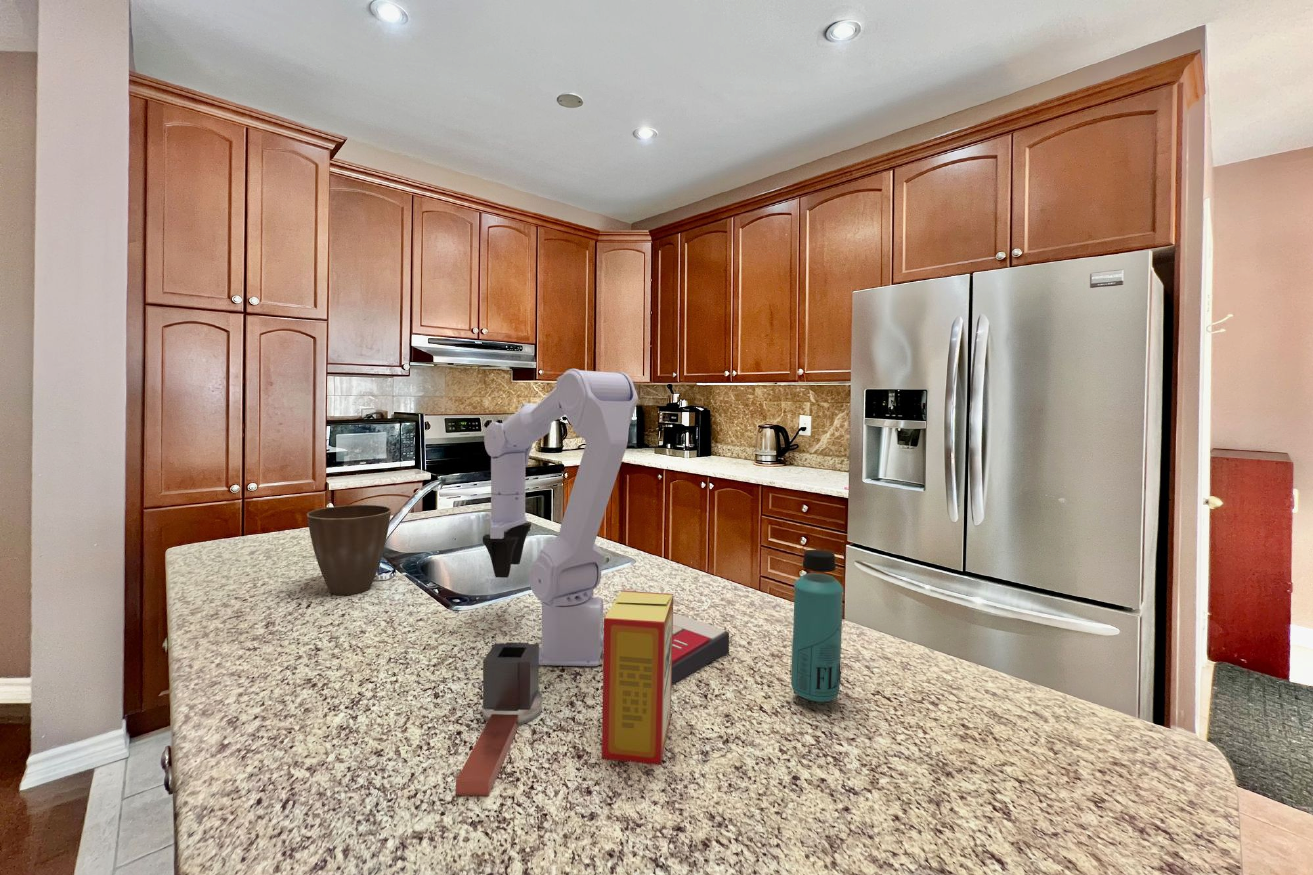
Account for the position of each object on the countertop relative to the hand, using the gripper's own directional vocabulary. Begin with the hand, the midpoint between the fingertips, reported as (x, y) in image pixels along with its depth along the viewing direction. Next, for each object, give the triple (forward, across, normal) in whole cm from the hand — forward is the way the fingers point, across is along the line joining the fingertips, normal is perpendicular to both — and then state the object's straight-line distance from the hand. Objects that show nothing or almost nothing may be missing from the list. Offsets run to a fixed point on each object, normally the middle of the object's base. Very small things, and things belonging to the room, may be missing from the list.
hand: (508, 570), depth 99 cm
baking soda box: (+10, +33, +24) cm, 42 cm away
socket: (+8, +28, +8) cm, 30 cm away
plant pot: (+10, -16, -36) cm, 41 cm away
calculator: (+10, +12, +28) cm, 32 cm away
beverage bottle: (+10, +24, +47) cm, 54 cm away
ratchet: (+9, +34, +8) cm, 36 cm away
